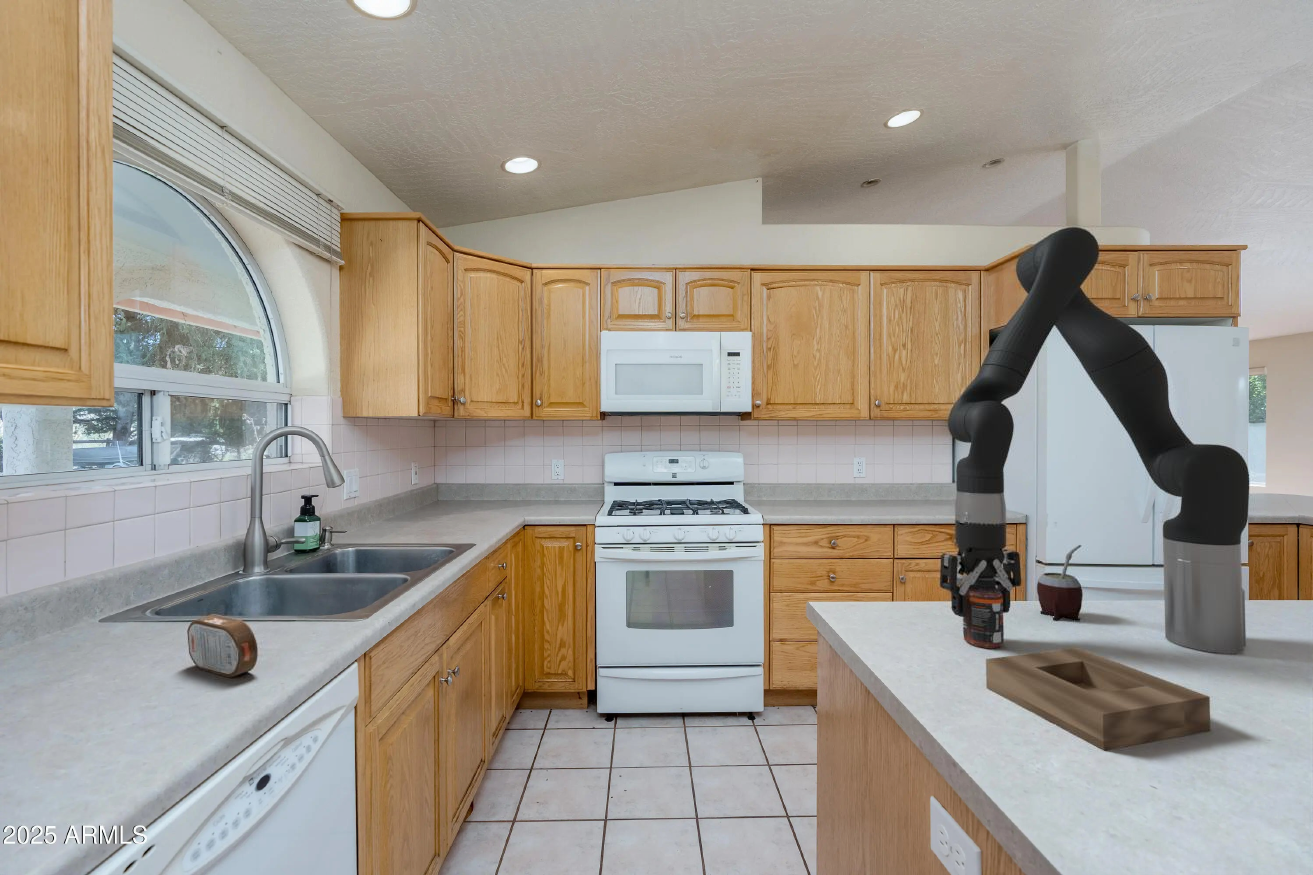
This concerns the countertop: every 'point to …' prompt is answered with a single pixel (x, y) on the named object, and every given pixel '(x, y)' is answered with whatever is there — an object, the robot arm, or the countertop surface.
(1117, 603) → the countertop surface
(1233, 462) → the robot arm
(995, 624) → the supplement bottle
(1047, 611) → the mate gourd
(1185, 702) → the walnut holder
